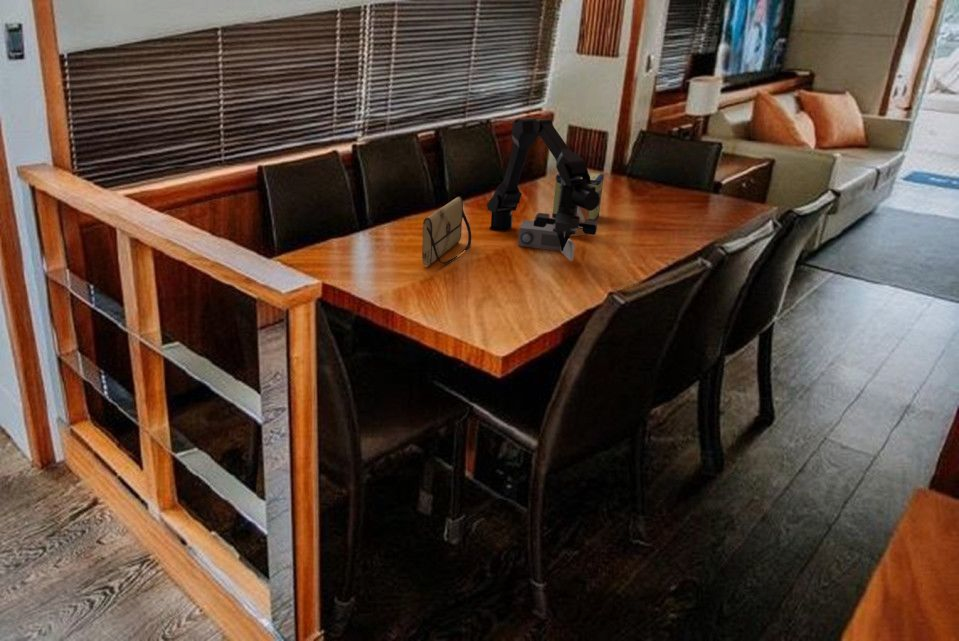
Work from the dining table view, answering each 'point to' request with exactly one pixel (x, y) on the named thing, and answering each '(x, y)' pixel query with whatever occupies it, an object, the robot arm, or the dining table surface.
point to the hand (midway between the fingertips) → (562, 250)
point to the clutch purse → (443, 231)
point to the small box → (581, 220)
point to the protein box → (595, 181)
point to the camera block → (538, 236)
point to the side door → (568, 250)
